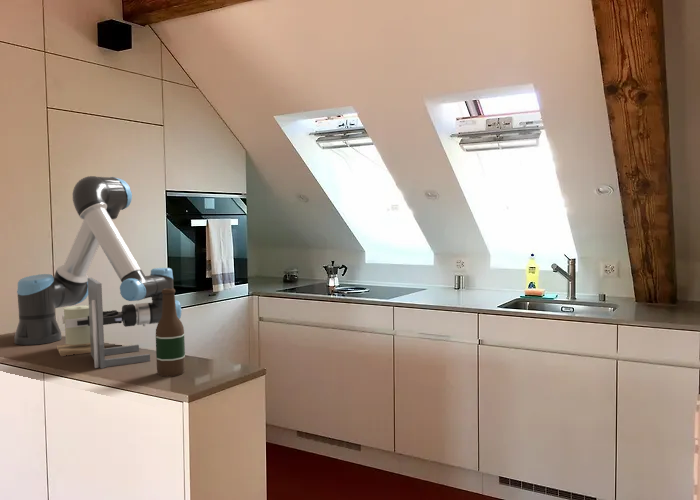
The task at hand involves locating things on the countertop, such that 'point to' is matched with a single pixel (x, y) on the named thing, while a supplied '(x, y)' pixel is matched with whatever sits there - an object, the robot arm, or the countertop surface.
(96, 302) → the grey l-shaped stand
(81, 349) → the oak pad
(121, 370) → the countertop surface
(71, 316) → the can
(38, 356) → the countertop surface
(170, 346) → the beer bottle
